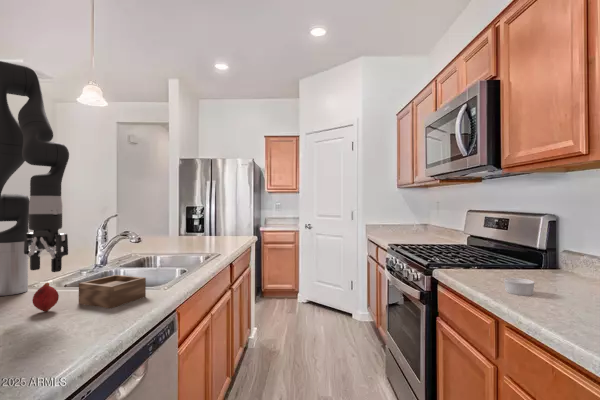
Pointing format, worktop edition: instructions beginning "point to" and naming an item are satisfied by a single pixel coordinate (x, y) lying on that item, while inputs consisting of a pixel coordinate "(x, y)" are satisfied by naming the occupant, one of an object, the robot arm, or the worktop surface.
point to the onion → (45, 298)
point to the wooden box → (112, 291)
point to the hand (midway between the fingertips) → (45, 270)
